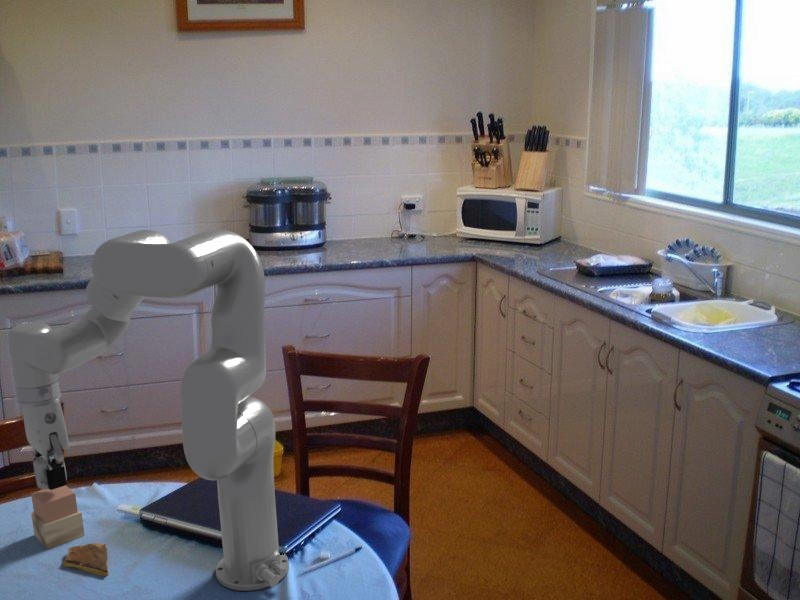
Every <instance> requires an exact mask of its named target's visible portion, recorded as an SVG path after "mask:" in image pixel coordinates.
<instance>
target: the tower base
mask: <svg viewBox="0 0 800 600" xmlns="http://www.w3.org/2000/svg"><path fill="white" fill-rule="evenodd" d="M77 510H78V512H77V513H75V514H72V515H69V516H66V517H64V518H61V519H58V520H55V521H53V522H50V523H47V524H46V523H45V522H44V521H42V520H41V519H40V518H39V517H38V516H37V515H36V514H35V513H34V510H33V511H31V512H30V514H31V520H32V521H31V522H32V527H33V534H34V536H35V538H37V540H38V541H39V542H40V543H41V544H42V545H43V546H44V547H45V548H46V550H50V549H53V548H56V547H58V546H61V545H64V544H66V543H69V542H71V541H74V540H77V539H79V538H80V539H81V538H83V537H85V536H86V535H85V527H84V521H83V514H82V512H81V510H79V509H78V508H77Z"/></svg>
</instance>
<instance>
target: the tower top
mask: <svg viewBox="0 0 800 600" xmlns="http://www.w3.org/2000/svg"><path fill="white" fill-rule="evenodd" d="M30 494H31V495H30V497H31V502H32V508H33V511H34V513H35V514H36V515H37V516H38V517H39V518H40V519H41V520H42V521H44V522H45V523H46V524H47V523H50V522H53V521H55V520H58V519H61V518H64V517H66V516H69V515H72V514H75V513H77V512H78V510H79V509H78V505H77V503H78V502H77V496H76V492H74V491H73V490H72V489H71V488H70V487H68V486H67V484H66V485H65V486H62V487H59V488H56V489H53V490H50V489H40V490H37V491H34V492H31V493H30ZM77 509H78V510H77Z"/></svg>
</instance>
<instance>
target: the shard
mask: <svg viewBox="0 0 800 600" xmlns="http://www.w3.org/2000/svg"><path fill="white" fill-rule="evenodd" d="M62 565H63V567H64V568H75V569H77V570H81V571H84V572H87V573H91V574H94V575H97V576H105V577H108V576H109V567H108V548H107V544H106V543H98V542H94V543H87V544H83V545H82V544H80V545H75V546H72V547H69V548H68V550H67V555H66V557H65V560H63V561H62Z"/></svg>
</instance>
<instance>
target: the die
mask: <svg viewBox="0 0 800 600" xmlns="http://www.w3.org/2000/svg"><path fill="white" fill-rule="evenodd" d="M49 457H50V461H51V460H52V459H53V458H54V455H52V456H49ZM35 458H36V459H35V461H34V460H33V463H32V465H33V471H34V477H35V482H36V486H37V488H39V489H40V490H42V489H49V488H48V483H47V476H46V469H47V465H46V461H45V457H44V455H42V456H40V457H38V458H37V457H35ZM64 468H65V475H66V481H67V480H68V475H67V470H66V465H65V462H64Z"/></svg>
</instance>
